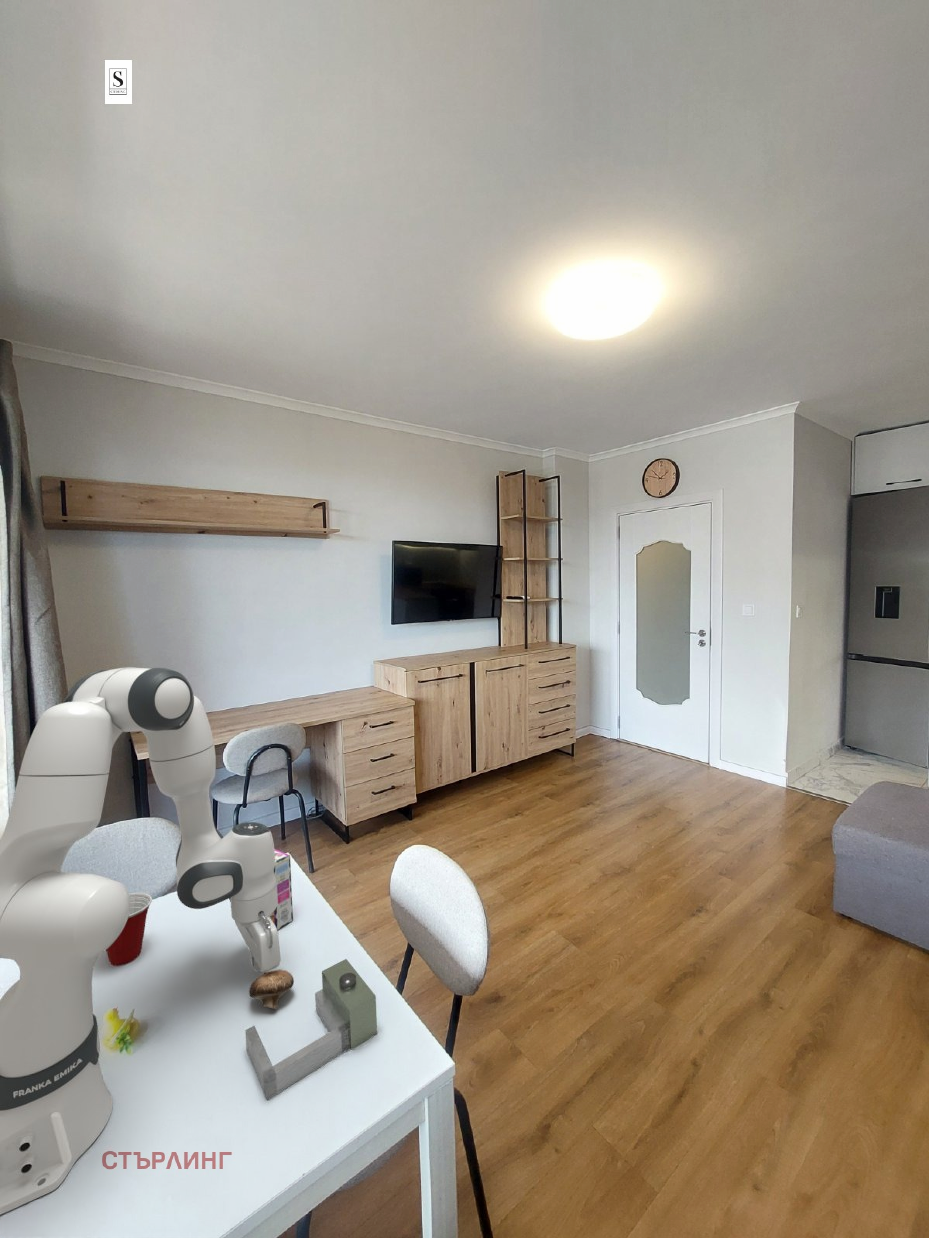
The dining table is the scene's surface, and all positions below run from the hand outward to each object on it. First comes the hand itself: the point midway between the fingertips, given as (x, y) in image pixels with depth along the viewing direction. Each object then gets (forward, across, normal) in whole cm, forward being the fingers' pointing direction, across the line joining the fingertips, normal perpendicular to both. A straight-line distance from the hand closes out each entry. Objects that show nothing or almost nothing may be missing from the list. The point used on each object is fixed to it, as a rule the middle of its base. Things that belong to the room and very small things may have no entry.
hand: (257, 965), depth 105 cm
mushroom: (+2, -9, 0) cm, 9 cm away
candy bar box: (+2, +17, -8) cm, 19 cm away
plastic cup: (+2, +25, +21) cm, 33 cm away
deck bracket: (+2, -23, -2) cm, 23 cm away
